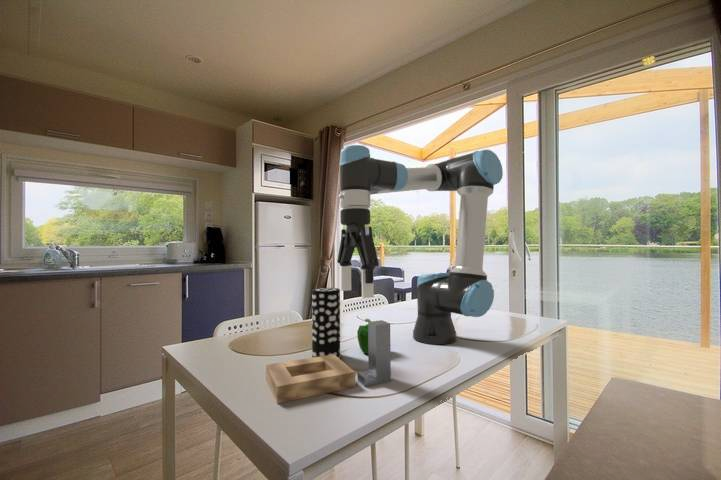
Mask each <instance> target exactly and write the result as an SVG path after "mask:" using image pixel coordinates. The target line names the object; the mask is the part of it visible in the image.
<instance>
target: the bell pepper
mask: <svg viewBox="0 0 721 480" xmlns="http://www.w3.org/2000/svg"><path fill="white" fill-rule="evenodd" d="M364 321H365V322H367V324H365V325H361V324H360V325H359V326H358V329H357V341H358V345H359V348H360V350H361V352H362V353H363V354H365V355H368V322H372V320H371V319H370V318H365V319H364Z"/></svg>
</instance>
